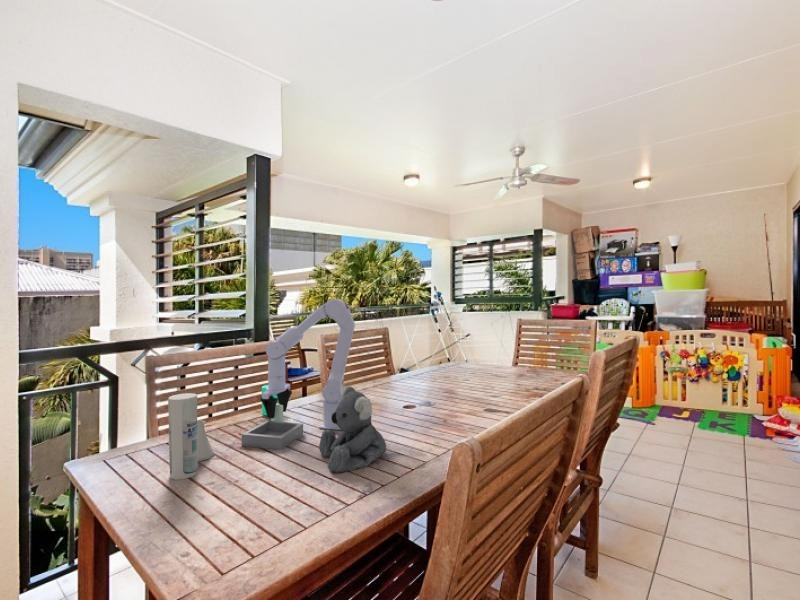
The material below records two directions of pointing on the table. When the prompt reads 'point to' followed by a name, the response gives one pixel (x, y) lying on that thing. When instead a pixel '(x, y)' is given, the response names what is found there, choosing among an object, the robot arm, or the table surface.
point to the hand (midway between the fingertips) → (276, 414)
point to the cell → (278, 413)
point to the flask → (203, 443)
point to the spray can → (183, 435)
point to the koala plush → (352, 434)
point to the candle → (262, 403)
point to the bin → (272, 435)
